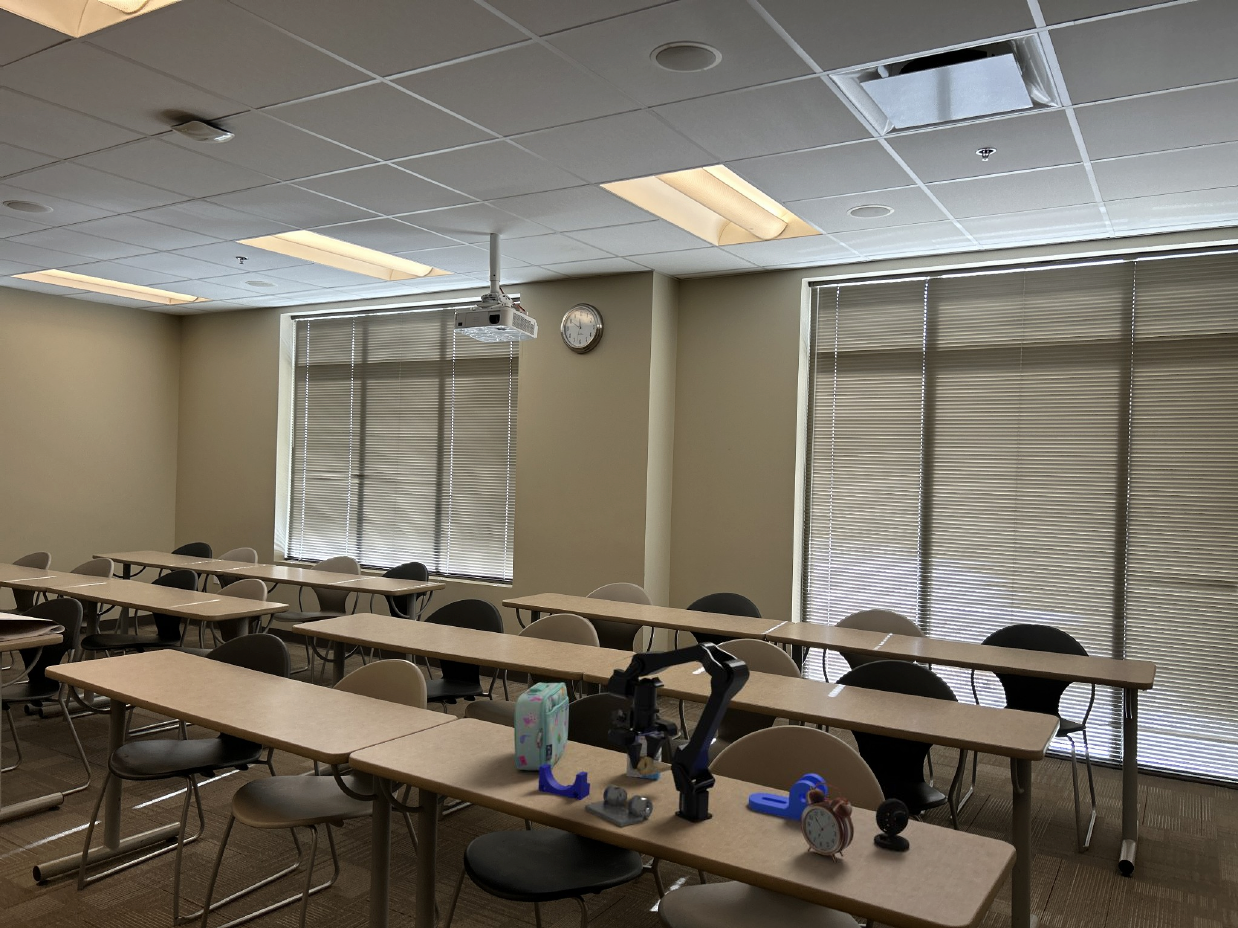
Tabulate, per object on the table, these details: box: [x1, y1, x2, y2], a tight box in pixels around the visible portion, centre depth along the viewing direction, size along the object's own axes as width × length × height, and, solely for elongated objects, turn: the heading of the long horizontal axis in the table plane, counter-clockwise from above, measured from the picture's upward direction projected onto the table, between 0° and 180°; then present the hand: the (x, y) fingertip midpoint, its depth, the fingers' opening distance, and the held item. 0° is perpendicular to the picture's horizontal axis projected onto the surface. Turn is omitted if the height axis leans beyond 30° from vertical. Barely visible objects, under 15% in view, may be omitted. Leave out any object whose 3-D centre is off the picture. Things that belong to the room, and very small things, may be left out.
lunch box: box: [513, 682, 569, 772], centre depth 239 cm, size 27×10×21 cm, turn 171°
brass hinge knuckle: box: [630, 754, 671, 776], centre depth 217 cm, size 4×10×4 cm, turn 131°
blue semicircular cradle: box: [537, 764, 591, 801], centre depth 216 cm, size 12×4×6 cm, turn 63°
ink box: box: [625, 728, 662, 781], centre depth 231 cm, size 9×5×12 cm, turn 76°
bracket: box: [748, 773, 829, 822], centre depth 210 cm, size 18×8×9 cm, turn 62°
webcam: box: [873, 798, 911, 852], centre depth 192 cm, size 8×8×10 cm
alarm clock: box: [800, 782, 855, 863], centre depth 184 cm, size 11×5×15 cm, turn 45°
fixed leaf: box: [584, 784, 654, 828], centre depth 203 cm, size 14×10×4 cm
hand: (641, 767), depth 215 cm, fingers closed on brass hinge knuckle, 4 cm apart
